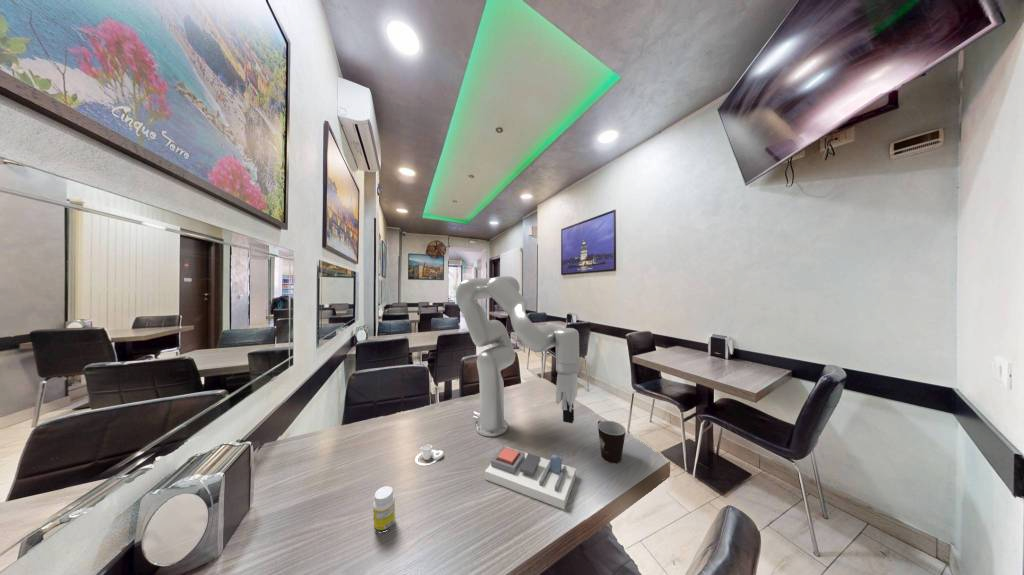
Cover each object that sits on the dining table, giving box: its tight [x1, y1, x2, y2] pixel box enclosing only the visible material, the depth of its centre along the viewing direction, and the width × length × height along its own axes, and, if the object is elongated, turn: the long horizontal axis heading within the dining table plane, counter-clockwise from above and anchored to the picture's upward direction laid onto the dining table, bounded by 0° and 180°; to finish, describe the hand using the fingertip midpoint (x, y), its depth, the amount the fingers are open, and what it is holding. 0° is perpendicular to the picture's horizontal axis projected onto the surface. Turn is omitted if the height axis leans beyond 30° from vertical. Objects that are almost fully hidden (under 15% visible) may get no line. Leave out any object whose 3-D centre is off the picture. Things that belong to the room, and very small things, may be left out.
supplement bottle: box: [372, 485, 396, 533], centre depth 67 cm, size 5×5×8 cm
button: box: [497, 448, 519, 465], centre depth 86 cm, size 5×5×2 cm
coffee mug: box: [597, 420, 627, 464], centre depth 93 cm, size 12×9×10 cm
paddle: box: [549, 454, 563, 474], centre depth 81 cm, size 3×2×5 cm, turn 64°
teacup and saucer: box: [414, 443, 444, 467], centre depth 92 cm, size 9×8×4 cm
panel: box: [484, 445, 577, 510], centre depth 83 cm, size 24×13×4 cm, turn 64°
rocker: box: [520, 452, 542, 476], centre depth 82 cm, size 4×6×1 cm, turn 154°
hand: (568, 421), depth 91 cm, fingers closed
